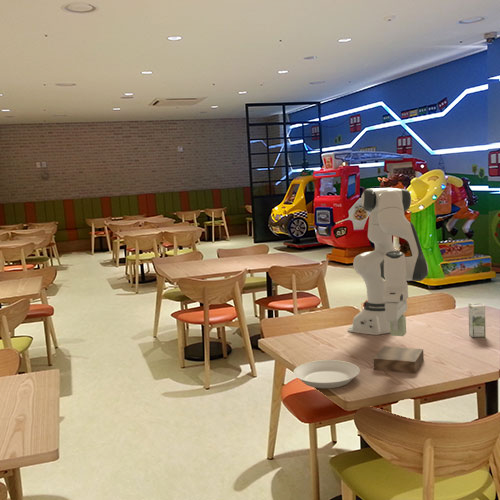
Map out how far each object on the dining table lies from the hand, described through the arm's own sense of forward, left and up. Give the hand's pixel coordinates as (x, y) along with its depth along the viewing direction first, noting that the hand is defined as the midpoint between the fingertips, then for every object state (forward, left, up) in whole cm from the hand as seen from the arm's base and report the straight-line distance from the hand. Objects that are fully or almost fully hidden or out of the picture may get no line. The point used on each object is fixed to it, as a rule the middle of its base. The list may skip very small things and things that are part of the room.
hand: (398, 327), depth 227 cm
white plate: (-22, -23, -16) cm, 36 cm away
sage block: (0, 0, -3) cm, 3 cm away
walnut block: (0, 0, -16) cm, 16 cm away
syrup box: (+24, +47, -15) cm, 55 cm away
